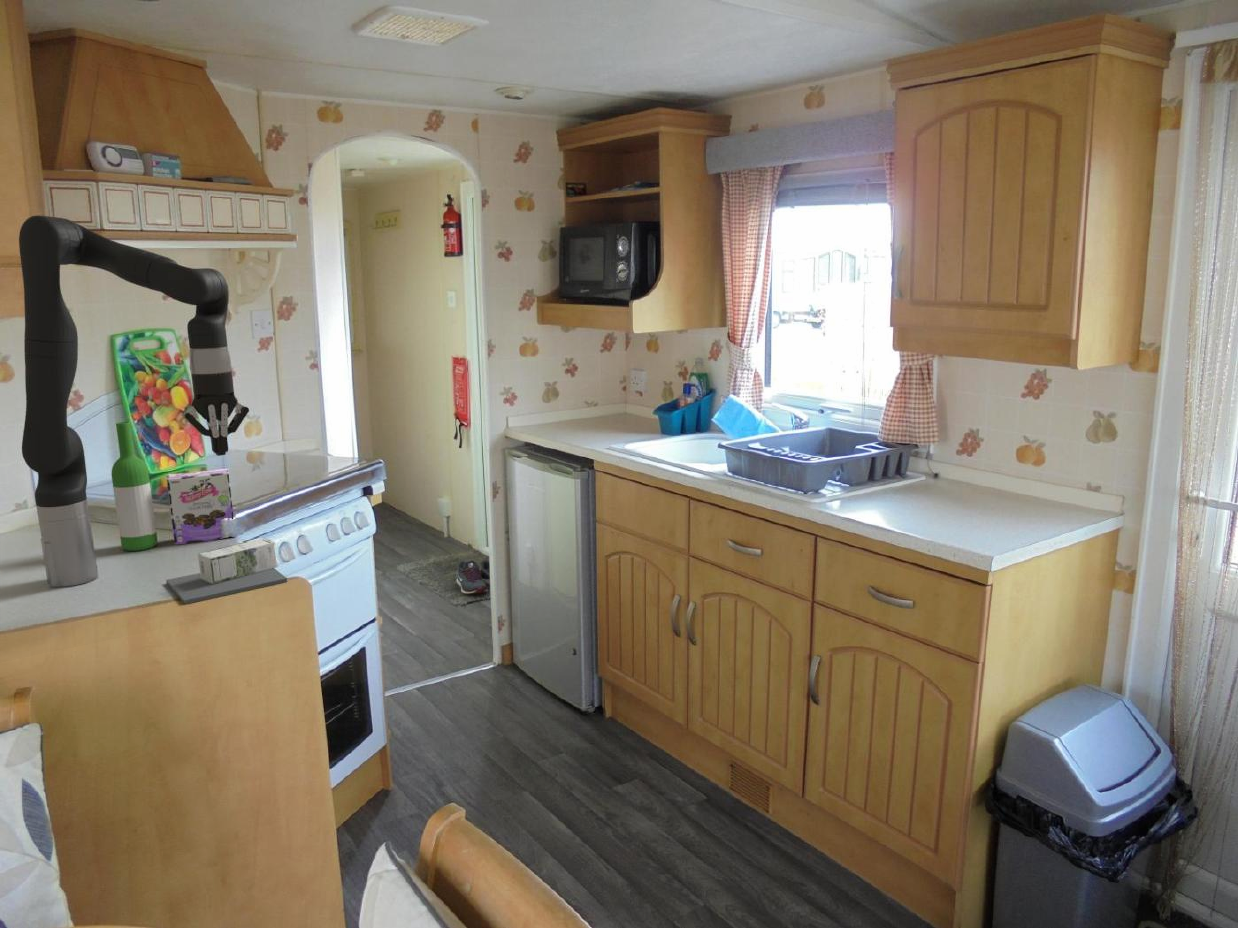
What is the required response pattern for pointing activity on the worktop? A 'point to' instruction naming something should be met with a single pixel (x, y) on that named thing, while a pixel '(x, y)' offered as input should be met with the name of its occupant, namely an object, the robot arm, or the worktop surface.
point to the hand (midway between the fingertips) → (220, 454)
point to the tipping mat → (221, 585)
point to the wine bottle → (132, 495)
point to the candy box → (199, 504)
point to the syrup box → (237, 560)
